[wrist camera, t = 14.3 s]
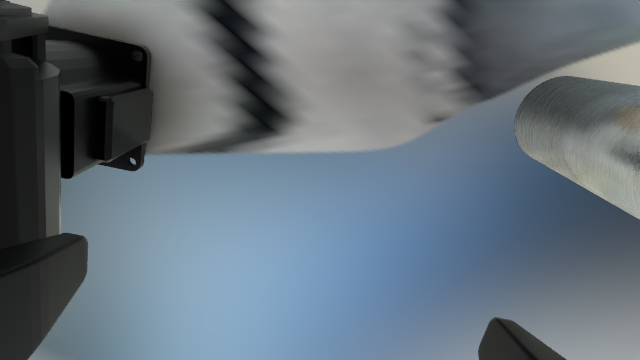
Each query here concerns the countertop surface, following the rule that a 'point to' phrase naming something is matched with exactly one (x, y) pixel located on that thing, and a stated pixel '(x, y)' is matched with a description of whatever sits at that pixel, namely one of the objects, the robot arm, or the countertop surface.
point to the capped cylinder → (586, 135)
